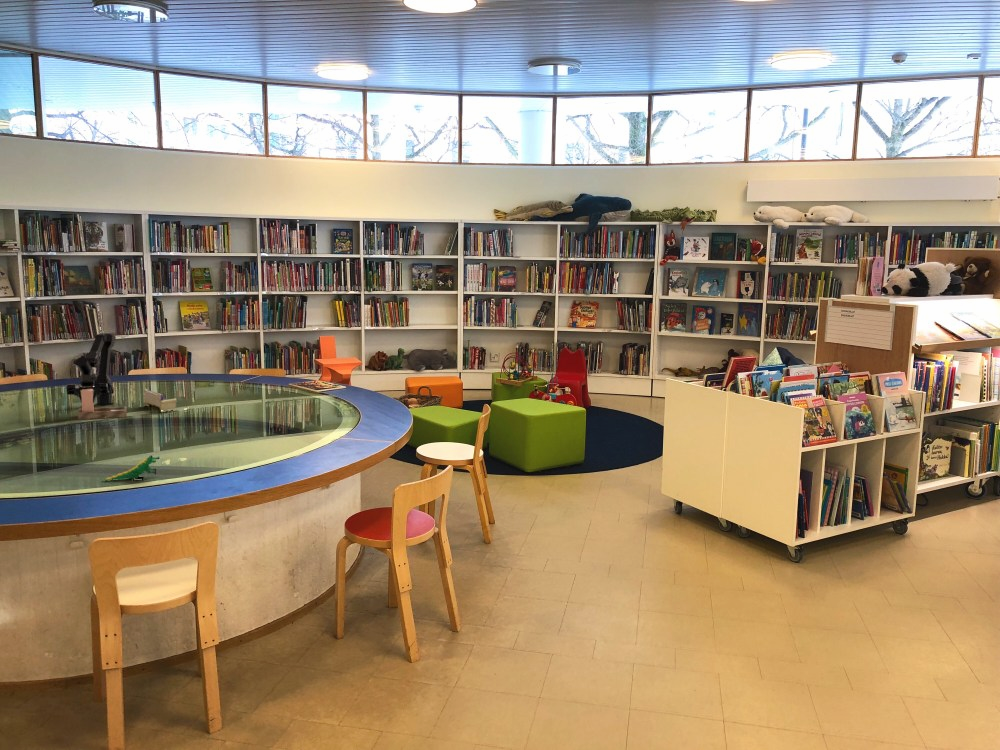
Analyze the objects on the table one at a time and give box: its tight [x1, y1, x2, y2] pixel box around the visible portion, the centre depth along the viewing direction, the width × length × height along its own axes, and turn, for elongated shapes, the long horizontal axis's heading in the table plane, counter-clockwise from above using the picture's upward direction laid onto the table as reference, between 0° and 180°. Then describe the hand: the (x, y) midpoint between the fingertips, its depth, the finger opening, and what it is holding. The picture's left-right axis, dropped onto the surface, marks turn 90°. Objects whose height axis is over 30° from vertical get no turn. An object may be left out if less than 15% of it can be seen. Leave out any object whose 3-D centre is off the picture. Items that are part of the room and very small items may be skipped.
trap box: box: [77, 406, 128, 420], centre depth 407 cm, size 22×10×4 cm, turn 115°
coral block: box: [81, 389, 95, 412], centre depth 403 cm, size 5×5×12 cm
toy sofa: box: [143, 388, 177, 410], centre depth 430 cm, size 21×9×10 cm, turn 49°
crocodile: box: [102, 455, 161, 482], centre depth 304 cm, size 20×6×9 cm, turn 113°
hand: (87, 402), depth 402 cm, fingers closed on coral block, 5 cm apart
